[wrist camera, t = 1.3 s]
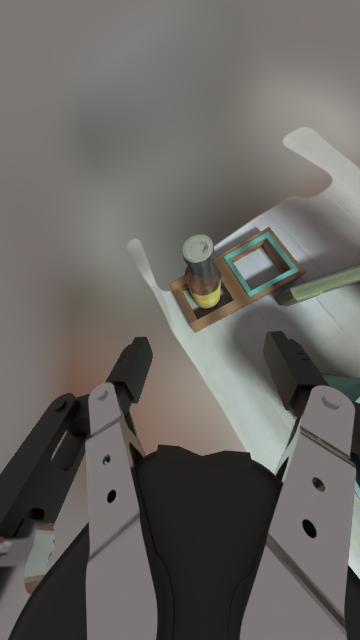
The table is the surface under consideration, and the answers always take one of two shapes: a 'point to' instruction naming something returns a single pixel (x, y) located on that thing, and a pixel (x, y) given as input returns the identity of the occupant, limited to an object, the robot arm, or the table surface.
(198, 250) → the sauce bottle
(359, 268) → the grey-green long slab
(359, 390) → the flower pot
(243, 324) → the table surface
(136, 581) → the robot arm
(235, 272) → the brown double window frame
